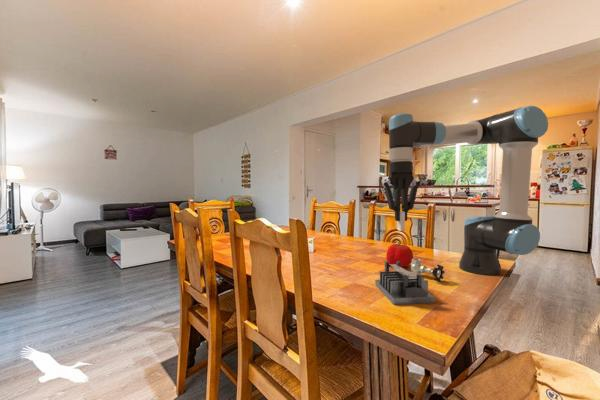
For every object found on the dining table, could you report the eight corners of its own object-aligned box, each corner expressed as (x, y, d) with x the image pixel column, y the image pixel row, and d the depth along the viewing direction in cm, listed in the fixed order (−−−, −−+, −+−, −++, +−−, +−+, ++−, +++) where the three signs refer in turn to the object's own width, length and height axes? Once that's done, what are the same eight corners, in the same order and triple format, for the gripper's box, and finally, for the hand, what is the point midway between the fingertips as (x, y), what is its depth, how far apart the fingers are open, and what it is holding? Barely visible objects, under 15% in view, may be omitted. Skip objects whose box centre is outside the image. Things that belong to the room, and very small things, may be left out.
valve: (406, 275, 113) (435, 284, 104) (406, 259, 113) (435, 266, 103) (416, 272, 117) (444, 280, 107) (416, 257, 117) (444, 263, 107)
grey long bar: (388, 266, 103) (388, 261, 103) (396, 266, 103) (395, 260, 103) (408, 279, 87) (408, 272, 87) (417, 279, 87) (417, 272, 87)
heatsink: (374, 284, 103) (374, 261, 103) (408, 283, 104) (409, 260, 104) (393, 304, 86) (393, 277, 85) (434, 303, 86) (435, 276, 86)
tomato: (381, 263, 131) (381, 241, 130) (403, 262, 133) (403, 240, 133) (394, 271, 119) (394, 247, 119) (418, 269, 121) (418, 246, 121)
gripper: (414, 162, 99) (414, 228, 100) (378, 162, 98) (378, 229, 99) (425, 160, 91) (425, 231, 93) (386, 160, 90) (386, 232, 92)
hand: (401, 230), depth 96 cm, fingers closed
